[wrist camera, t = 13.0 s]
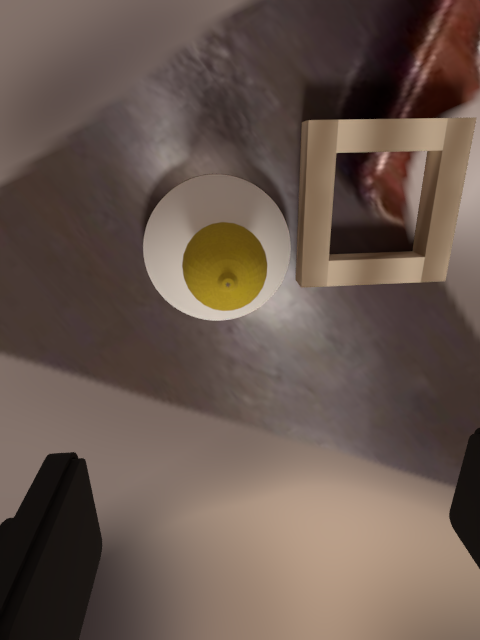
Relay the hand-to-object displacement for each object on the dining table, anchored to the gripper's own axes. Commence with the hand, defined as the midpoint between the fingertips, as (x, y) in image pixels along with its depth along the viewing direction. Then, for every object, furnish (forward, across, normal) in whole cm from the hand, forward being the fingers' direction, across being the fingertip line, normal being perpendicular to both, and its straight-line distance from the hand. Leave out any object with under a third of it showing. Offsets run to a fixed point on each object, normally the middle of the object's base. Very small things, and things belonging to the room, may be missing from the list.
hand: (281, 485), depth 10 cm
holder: (+23, -11, -4) cm, 26 cm away
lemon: (+22, +1, -1) cm, 22 cm away
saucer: (+23, +1, -1) cm, 23 cm away
